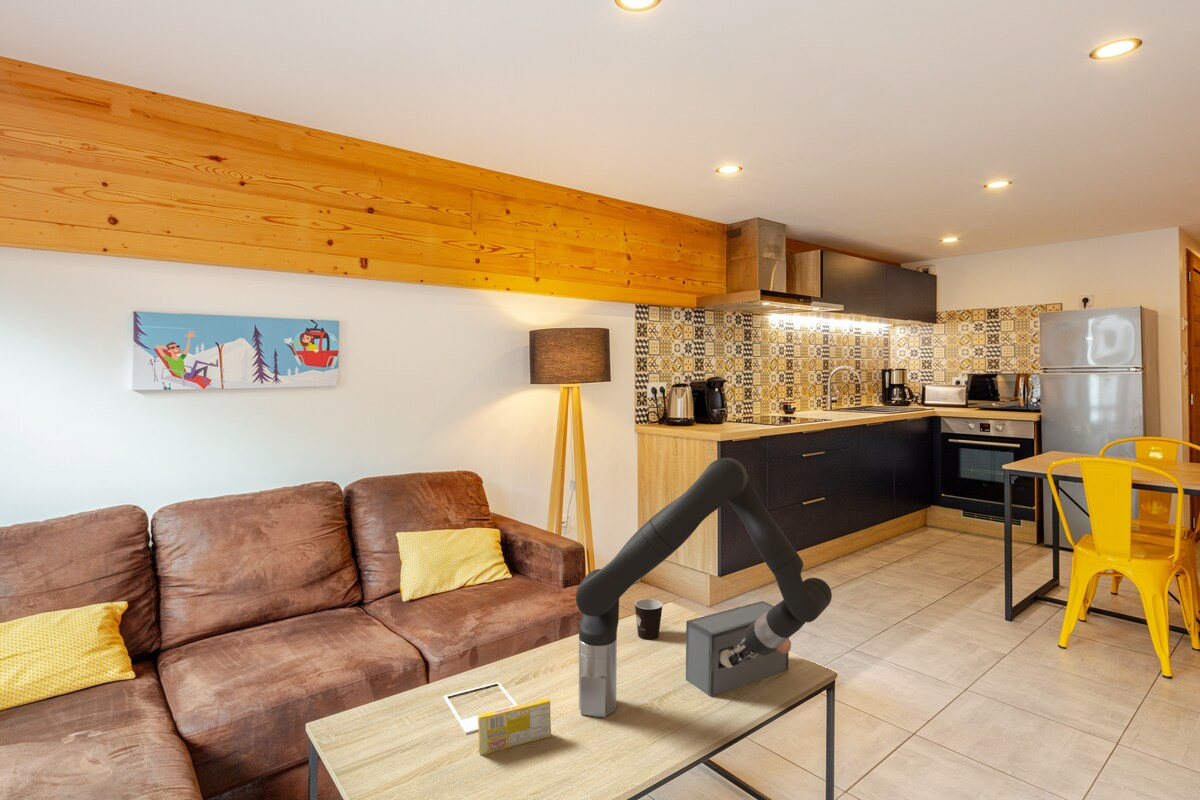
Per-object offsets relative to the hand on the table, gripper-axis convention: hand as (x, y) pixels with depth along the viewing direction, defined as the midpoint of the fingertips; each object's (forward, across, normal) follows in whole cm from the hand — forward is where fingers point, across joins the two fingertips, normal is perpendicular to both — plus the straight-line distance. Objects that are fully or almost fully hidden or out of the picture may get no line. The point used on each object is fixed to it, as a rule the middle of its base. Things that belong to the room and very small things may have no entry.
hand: (732, 661), depth 158 cm
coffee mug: (+36, -3, -23) cm, 42 cm away
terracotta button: (+3, -18, 0) cm, 18 cm away
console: (+12, -9, +1) cm, 15 cm away
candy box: (+13, +55, 0) cm, 57 cm away
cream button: (+4, 0, -2) cm, 5 cm away
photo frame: (+26, +56, -12) cm, 63 cm away
